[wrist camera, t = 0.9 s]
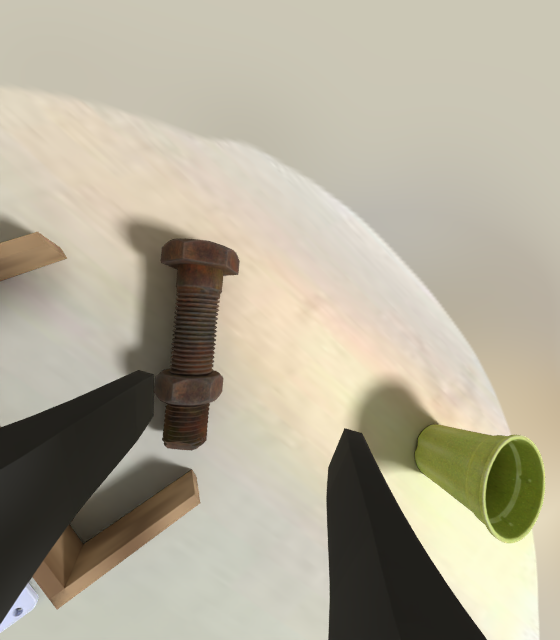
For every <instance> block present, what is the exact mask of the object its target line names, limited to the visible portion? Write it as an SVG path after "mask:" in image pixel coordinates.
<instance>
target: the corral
mask: <svg viewBox="0 0 560 640" xmlns="http://www.w3.org/2000/svg"><path fill="white" fill-rule="evenodd" d="M64 259H67V258H66V256H65V254H64V252H63V251H62V249H61V248H60V247H59V246H57V245H56V244H54V243H53V242H51V241H50V240H49V239H47V238H46V237H44V236H43V235H41V234H40V233H39V232H35V233H32V234H29V235H25V236H22V237H19V238H15V239H12V240H9V241H5V242H2V243H0V281H2V280H5V279H8V278H11V277H14V276H17V275H20V274H22V273H25V272H28V271H31V270H34V269H37V268H40V267H43V266H46V265H49V264H52V263H55V262H58V261H61V260H64ZM0 428H1V427H0ZM198 504H200V498H199V491H198V484H197V477H196V475H195V474H194V472H193V470H190V471H189V472H188V473H186V474H185V475H183V476H182V477H180V478H179V479H177V480H176V481H174V482H173V483H172V484H170V485H169V486H167V487H166V488H164V489H163V490H161V491H160V492H159V493H157V494H156V495H154V496H153V497H151V498H150V499H148V500H147V501H145V502H144V503H143V504H141V505H140V506H138V507H137V508H135V509H134V510H132V511H131V512H130V513H128V514H127V515H125V516H124V517H122V518H121V519H119V520H118V521H116V522H115V523H114V524H112V525H111V526H109V527H108V528H106V529H105V530H103V531H102V532H101V533H99V534H98V535H96V536H95V537H93V538H92V539H90V540H89V541H87V542H86V543H85V544H83V543H82V542H81V541H80V539H79V538H78V536H77V535H76V533H75V532H74V531H73V529H72V528H71V526H70V525H68V526H67V528H66V529H65V531H64V532H63V533H62V535H61V536H60V538H59V539H58V540H57V542H56V543H55V545H54V546H53V547H52V549H51V550H50V552H49V553H48V555H47V556H46V557H45V559H44V560H43V562H42V563H41V565H40V566H39V568H38V569H37V571H36V572H35V573H34V575H33V576H32V577H33V578H34V580H35V581H36V582H37V584H38V585H39V586H40V588H41V589H42V590H43V592H44V593H45V594H46V596H47V597H48V598H49V600H50V601H51V602H52V604H53V605H54V606H55V608H56V609H58V608H60V607H61V606H62V605H64V604H65V603H67V602H68V601H69V600H71V599H72V598H73V597H75V596H76V595H77V594H79V593H80V592H81V591H83V590H84V589H85V588H87V587H88V586H89V585H91V584H92V583H93V582H95V581H96V580H97V579H99V578H100V577H101V576H103V575H104V574H105V573H107V572H108V571H110V570H111V569H112V568H114V567H115V566H116V565H118V564H119V563H120V562H122V561H123V560H124V559H126V558H127V557H128V556H130V555H131V554H132V553H134V552H135V551H136V550H138V549H139V548H140V547H142V546H143V545H144V544H146V543H147V542H148V541H150V540H151V539H153V538H154V537H155V536H157V535H158V534H159V533H161V532H162V531H163V530H165V529H166V528H167V527H169V526H170V525H171V524H173V523H174V522H175V521H177V520H178V519H179V518H181V517H182V516H183V515H185V514H186V513H187V512H189V511H190V510H192V509H193V508H194V507H196V506H197V505H198Z"/></svg>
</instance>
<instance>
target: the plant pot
mask: <svg viewBox="0 0 560 640" xmlns="http://www.w3.org/2000/svg"><path fill="white" fill-rule="evenodd" d="M415 460H416V463H417V466H418V468H419V470H420V471H421V472H422V473H423V474H424V475H426V476H427V477H428V478H430V479H431V480H432V481H433V482H435V483H436V484H437V485H439V486H440V487H441V488H443V489H444V490H445V491H446V492H448V493H449V494H450V495H451V496H453V497H454V498H455V499H457V500H458V501H459V502H460V503H462V504H463V505H464V506H466V507H467V508H468V509H469V510H471V511H472V512H473V513H474V514H475V516H476V517H477V518H478V519H479V520H480V521H481V522H483V523H484V524H485V525H486V527H487V529H488V530H489V531H490V533H491V534H492V535H493V536H494V537H495V538H497V539H498V540H500V541H501V542H504V543H515V542H517V541H520V540H521V539H523V538H524V537H525V536H526V535H527V534H528V533H529V532H530V530H531V529H532V527H533V526H534V524H535V522H536V520H537V518H538V516H539V513H540V510H541V507H542V504H543V499H544V493H545V470H544V464H543V461H542V458H541V455H540V452H539V450H538V449H537V447H536V445H535V444H534V443H533V442H532V441H531V440H530V439H528V438H527V437H524V436H521V435H510V436H502V435H497V436H492V435H486V434H481V433H476V432H471V431H466V430H462V429H457V428H452V427H448V426H443V425H437V424H434V425H430V426H428V427H426V428H425V429H424V430H423V431H422V432H421V434H420V435H419V437H418V447H417V449H416V451H415Z"/></svg>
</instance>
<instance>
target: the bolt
mask: <svg viewBox="0 0 560 640" xmlns="http://www.w3.org/2000/svg"><path fill="white" fill-rule="evenodd" d="M161 263H163V264H166V265H168V266H170V267H173V268H175V269H177V270H178V271H177V282H176V287H177V292H178V293H177V296H178V297H179V298H176V300H177V301H178V302H177V303H176V305H177V306H178V307H175V309H176V310H178V311H176V312H175V314H177V316H175V317H174V318H175V319H176V321H174V323H175V324H176V325H175V326H173V327H174V328H176V329H175V330H173V331H174V332H175V334H173V336H174V337H175V338H173V339H172V340H173V341H175V342H173V343H172V345H173V346H174V347H172V348H171V349H172V350H174V351H173V352H171V354H173V356H171V358H172V359H173V360H172V361H170V362H171V363H172V365H170V367H171V369H166V370H163V371H162V372H160V373H159V374H158V375H157V376H156V377H155V385H154V393H155V394H156V396H157V397H158V398H159V399H160V400H161V401H163V402H165V403H166V404H167V406H165V407H166V410H165V413H166V414H165V419H164V422H165V423H164V429H163V431H164V432H163V438H162V440H163V441H164V445H165V446H166V447H167V448H171V449H180V450H194V449H197V448H198V447H199V446H201V445H202V444H203V443H204V442H205V441H206V436H207V433H206V432H207V423H208V415H209V412H208V411H209V406H210V404H209V403H210V402H213V401H215V400H216V399H217V398H218V397H219V396H220V394H221V392H222V387H223V377H222V376H221V375H220V373H219V372H217V371H213V369H212V367H213V364H212V363H213V362H214V361H213V360H212V359H213V358H214V356H213V354H214V351H213V350H214V349H215V348H214V347H213V346H214V345H216V344H215V343H214V341H216V339H214V337H216V335H215V334H214V333H216V332H217V331H216V330H214V329H216V328H217V327H216V326H215V325H216V324H217V322H216V320H217V319H218V318H216V317H215V316H217V315H218V314H217V313H216V312H217V311H219V310H218V309H216V308H217V307H219V305H217V303H219V302H220V301H218V299H219V298H220V293H221V292H222V283H223V276H226V275H238V271H239V259H238V256H237V254H236V252H235V251H234V250H232V249H230V248H227V247H225V246H223V245H220V244H217V243H214V242H210V241H205V240H195V239H173V240H170V241H169V242H167V243H166V244H165V245H164V246H163V247H162V254H161Z"/></svg>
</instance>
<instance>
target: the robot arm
mask: <svg viewBox="0 0 560 640" xmlns="http://www.w3.org/2000/svg"><path fill="white" fill-rule="evenodd" d="M153 416H154V374H150V373H147V372H143V371H139V370H138V371H136V372H133V373H131V374H129V375H126V376H124V377H122V378H120V379H117V380H115V381H113V382H111V383H109V384H106V385H104V386H102V387H100V388H97V389H95V390H93V391H91V392H88V393H86V394H84V395H82V396H79V397H77V398H75V399H73V400H70V401H68V402H65V403H63V404H60V405H58V406H55V407H53V408H51V409H48V410H46V411H43V412H41V413H38V414H36V415H33V416H31V417H28V418H26V419H23V420H20V421H17V422H15V423H12V424H9V425H6V426H4V427H1V428H0V633H1V632H2V631H4V630H5V629H6V628H8V627H9V626H10V625H12V624H13V623H15V622H16V621H17V620H19V619H20V618H22V617H23V616H24V615H26V614H27V613H28V612H30V611H31V610H32V609H33V608H34V607H35V605H36V603H37V601H38V595H37V593H36V592H35V591H34V589H33V588H32V587H31V585H30V584H29V583H28V582H29V581H30V579H31V578H32V576H33V575H34V573H35V572H36V571H37V569H38V568H39V566H40V565H41V563H42V562H43V560H44V559H45V557H46V556H47V555H48V553H49V552H50V550H51V549H52V547H53V546H54V545H55V543H56V542H57V540H58V539H59V538H60V536H61V535H62V533H63V532H64V531H65V529H66V528H67V526H68V525H69V524H70V522H71V521H72V519H73V518H74V517H75V515H76V514H77V513H78V512H79V510H80V509H81V508H82V507H83V505H84V504H85V503H86V501H87V500H88V499H89V498H90V497H91V495H92V494H93V493H94V492H95V491H96V490H97V488H98V487H99V486H100V485H101V484H102V482H103V481H104V480H105V479H106V478H107V476H108V475H109V474H110V473H111V472H112V471H113V469H114V468H115V467H116V466H117V465H118V463H119V462H120V461H121V460H122V459H123V457H124V456H125V455H126V454H127V453H128V451H129V450H130V449H131V448H132V447H133V445H134V444H135V443H136V442H137V440H138V439H139V437H140V436H141V434H142V433H143V431H144V430H145V428H146V427H147V425H148V424H149V422H150V421H151V419H152V417H153ZM326 499H327V528H328V552H329V577H330V609H329V639H328V640H487V639H486V638H485V636H484V635H483V634H482V632H481V631H480V629H479V628H478V627H477V625H476V624H475V623H474V621H473V620H472V619H471V617H470V616H469V614H468V613H467V612H466V610H465V609H464V608H463V606H462V605H461V603H460V602H459V600H458V599H457V598H456V596H455V595H454V593H453V592H452V590H451V589H450V588H449V586H448V585H447V583H446V582H445V580H444V579H443V577H442V576H441V574H440V573H439V571H438V569H437V568H436V566H435V565H434V563H433V562H432V560H431V559H430V557H429V556H428V554H427V553H426V551H425V549H424V548H423V546H422V544H421V543H420V541H419V540H418V538H417V536H416V535H415V533H414V531H413V530H412V528H411V526H410V524H409V523H408V521H407V519H406V518H405V516H404V514H403V512H402V511H401V509H400V507H399V505H398V503H397V501H396V500H395V498H394V496H393V494H392V492H391V490H390V488H389V487H388V485H387V483H386V481H385V479H384V477H383V475H382V473H381V471H380V469H379V467H378V465H377V463H376V461H375V459H374V457H373V455H372V453H371V451H370V449H369V447H368V445H367V442H366V440H365V438H364V436H363V434H362V433H360V432H356V431H353V430H349V429H345V428H344V431H343V433H342V436H341V438H340V440H339V443H338V445H337V448H336V450H335V453H334V455H333V457H332V460H331V462H330V465H329V467H328V481H327V498H326ZM16 608H22V610H16Z"/></svg>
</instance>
